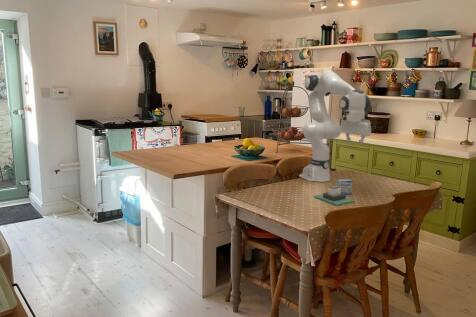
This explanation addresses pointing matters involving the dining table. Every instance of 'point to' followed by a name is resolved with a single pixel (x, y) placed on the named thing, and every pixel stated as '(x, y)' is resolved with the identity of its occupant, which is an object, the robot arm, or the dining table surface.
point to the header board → (334, 199)
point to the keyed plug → (334, 190)
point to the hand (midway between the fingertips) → (354, 142)
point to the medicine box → (345, 186)
